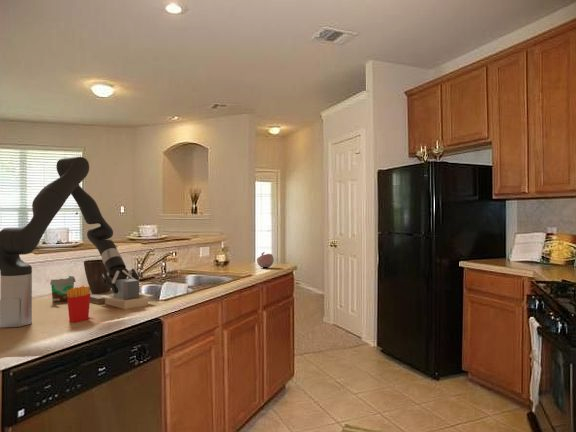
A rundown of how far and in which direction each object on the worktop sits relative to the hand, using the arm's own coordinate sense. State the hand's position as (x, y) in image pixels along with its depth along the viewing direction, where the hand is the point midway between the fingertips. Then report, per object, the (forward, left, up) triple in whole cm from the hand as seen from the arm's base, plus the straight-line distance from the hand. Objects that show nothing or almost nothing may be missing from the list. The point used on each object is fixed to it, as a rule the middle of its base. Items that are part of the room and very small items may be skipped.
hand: (127, 291), depth 182 cm
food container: (+16, +30, -6) cm, 34 cm away
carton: (0, 0, -6) cm, 6 cm away
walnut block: (+10, +12, -6) cm, 17 cm away
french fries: (-23, +11, -6) cm, 26 cm away
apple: (+126, -63, -6) cm, 141 cm away
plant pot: (+31, +20, -6) cm, 37 cm away
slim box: (0, 0, -5) cm, 6 cm away
